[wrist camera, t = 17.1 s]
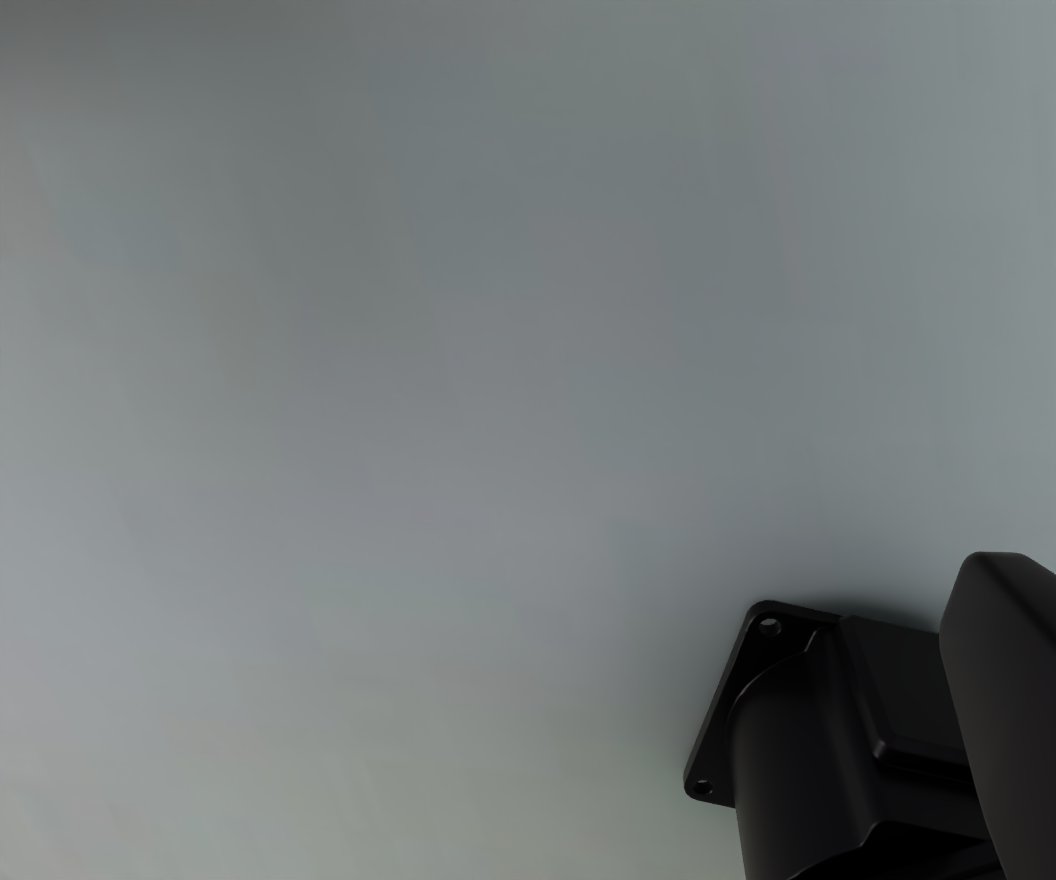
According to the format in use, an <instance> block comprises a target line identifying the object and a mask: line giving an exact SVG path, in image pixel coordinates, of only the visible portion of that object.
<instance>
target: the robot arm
mask: <svg viewBox="0 0 1056 880" xmlns="http://www.w3.org/2000/svg"><path fill="white" fill-rule="evenodd" d="M766 619H775V620H777V621H776V622H775V623H774V624H771V625H763V624H760V623H761V622H762V621H764V620H766ZM683 780H684V789H685V792H686V794H687V795H688V796H690V797H691V798H693V799H696V800H699V801H703V802H708V803H712V804H717V805H722V806H726V807H731V808H735V809H736V813H737V820H738V827H739V834H740V841H741V848H742V855H743V862H744V869H745V875H746V880H1056V575H1055V574H1054V573H1052V572H1051V571H1049V570H1048V569H1046V568H1045V567H1043V566H1041V565H1040V564H1038V563H1037V562H1035V561H1034V560H1032V559H1031V558H1029V557H1027V556H1025V555H1023V554H1020V553H1011V552H975V553H972V554H970V555H969V556H968V557H967V558H966V559H965V560H964V562H963V564H962V566H961V568H960V570H959V573H958V576H957V579H956V581H955V584H954V587H953V590H952V593H951V595H950V598H949V601H948V604H947V606H946V609H945V612H944V615H943V617H942V620H941V624H940V629H939V634H935V633H930V632H926V631H921V630H917V629H912V628H908V627H903V626H899V625H894V624H889V623H885V622H880V621H876V620H871V619H867V618H862V617H858V616H853V615H851V616H841V615H837V614H832V613H828V612H823V611H819V610H814V609H810V608H805V607H801V606H796V605H791V604H787V603H782V602H778V601H771V600H765V601H761V602H758V603H756V604H755V605H753V606H752V607H751V608H750V609H749V611H748V612H747V615H746V617H745V620H744V622H743V625H742V627H741V630H740V632H739V635H738V637H737V640H736V642H735V645H734V647H733V650H732V652H731V655H730V657H729V660H728V662H727V665H726V667H725V670H724V672H723V675H722V677H721V680H720V682H719V685H718V688H717V690H716V693H715V695H714V698H713V700H712V703H711V705H710V708H709V710H708V713H707V715H706V718H705V720H704V723H703V725H702V728H701V730H700V733H699V735H698V738H697V740H696V743H695V745H694V748H693V750H692V753H691V755H690V758H689V760H688V763H687V765H686V768H685V770H684V775H683ZM701 780H704V781H707V782H704V783H699V782H698V781H701Z"/></svg>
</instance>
